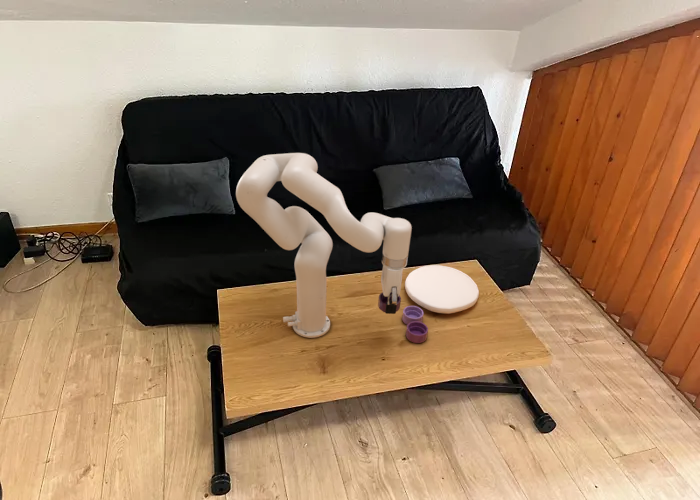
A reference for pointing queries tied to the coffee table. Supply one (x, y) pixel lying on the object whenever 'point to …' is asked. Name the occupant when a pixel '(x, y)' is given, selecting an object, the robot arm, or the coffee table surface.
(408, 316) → the lilac dish
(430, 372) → the coffee table surface
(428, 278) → the plate
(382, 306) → the aubergine dish
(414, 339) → the plum dish
